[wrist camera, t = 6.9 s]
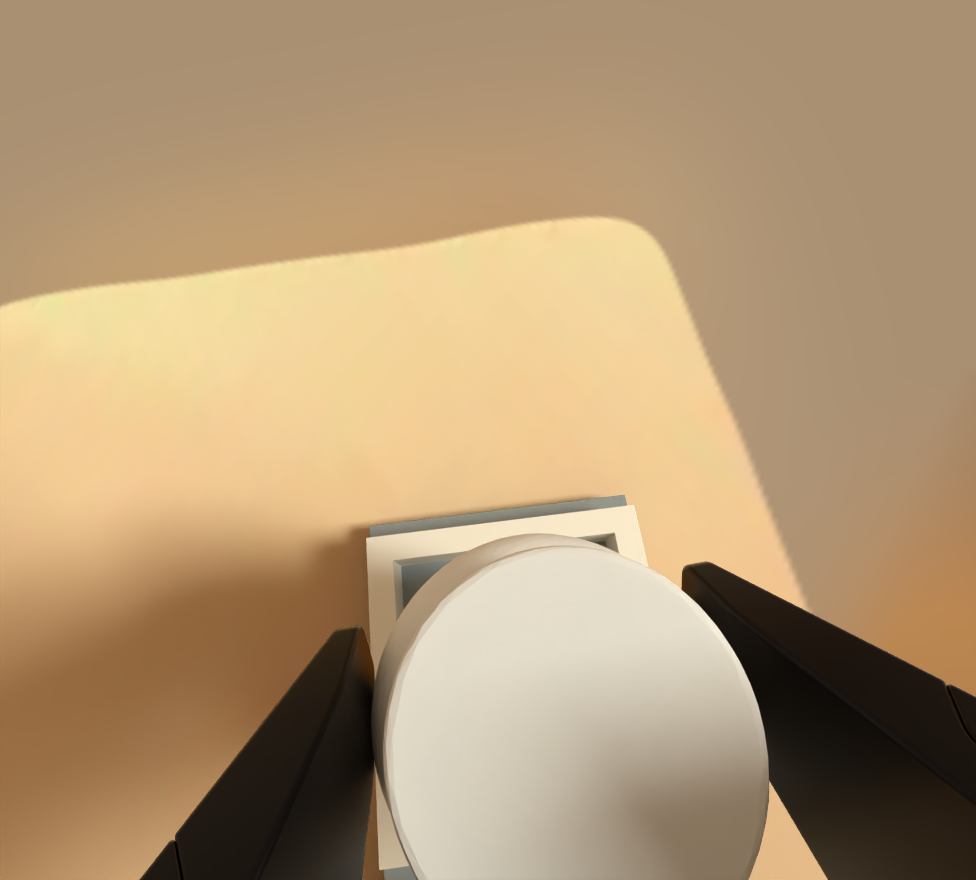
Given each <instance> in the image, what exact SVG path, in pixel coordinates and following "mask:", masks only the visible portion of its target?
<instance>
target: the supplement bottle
mask: <svg viewBox="0 0 976 880" xmlns="http://www.w3.org/2000/svg"><path fill="white" fill-rule="evenodd" d="M371 734H372V747H373V756H374V762H375V767H376V772H377V776H378V779H379V783H380V787H381V790H382V793H383V796H384V799H385V801H386V804H387V807H388V809H389V811H390V814H391V818H392V821H393V825H394V829H395V832H396V835H397V838H398V840H399V843H400V845H401V848H402V850H403V853H404V855H405V858H406V860H407V862H408V864H409V866H410V868H411V870H412V872H413V874H414V876H415V878H416V879H417V880H748V879H749V877H750V874H751V872H752V869H753V866H754V863H755V861H756V858H757V855H758V852H759V849H760V845H761V841H762V837H763V833H764V828H765V824H766V818H767V810H768V803H769V767H768V753H767V746H766V739H765V732H764V728H763V723H762V719H761V715H760V711H759V707H758V704H757V701H756V698H755V695H754V692H753V690H752V687H751V684H750V682H749V680H748V678H747V676H746V674H745V671H744V669H743V667H742V665H741V663H740V661H739V659H738V658H737V656H736V654H735V652H734V651H733V649H732V648H731V646H730V645H729V643H728V642H727V640H726V639H725V637H724V636H723V634H722V633H721V631H720V630H719V629H718V627H717V626H716V625H715V623H714V622H713V621H712V620H711V619H710V617H709V616H708V615H707V614H706V613H705V612H704V611H703V609H702V608H701V607H700V606H699V605H698V604H697V603H696V602H695V601H694V600H693V599H691V598H690V597H689V596H688V595H687V594H686V593H685V592H683V591H682V590H681V589H680V588H679V587H678V586H676V585H675V584H674V583H672V582H671V581H669V580H668V579H667V578H665V577H664V576H662V575H661V574H659V573H657V572H656V571H654V570H652V569H650V568H648V567H646V566H644V565H643V564H641V563H639V562H636V561H634V560H631V559H629V558H626V557H624V556H622V555H620V554H619V553H617V552H615V551H613V550H610V549H608V548H606V547H604V546H601V545H599V544H596V543H593V542H590V541H587V540H583V539H579V538H574V537H569V536H563V535H556V534H544V533H535V534H522V535H514V536H509V537H505V538H500V539H497V540H494V541H491V542H488V543H485V544H483V545H480V546H478V547H476V548H473V549H471V550H469V551H467V552H465V553H463V554H461V555H460V556H458V557H456V558H455V559H453V560H452V561H451V562H449V563H448V564H446V565H445V566H444V567H442V568H441V569H440V570H439V571H438V572H436V573H435V574H434V575H433V576H432V577H431V578H430V579H429V580H428V581H427V582H426V583H425V584H424V585H423V586H422V587H421V588H420V589H419V590H418V592H417V593H416V594H415V595H414V596H413V598H412V599H411V600H410V602H409V603H408V605H407V606H406V607H405V609H404V610H403V612H402V613H401V615H400V616H399V618H398V620H397V622H396V623H395V625H394V627H393V629H392V631H391V633H390V636H389V638H388V640H387V643H386V645H385V648H384V650H383V653H382V655H381V658H380V662H379V666H378V670H377V674H376V679H375V684H374V690H373V700H372V709H371Z"/></svg>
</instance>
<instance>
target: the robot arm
mask: <svg viewBox="0 0 976 880" xmlns="http://www.w3.org/2000/svg"><path fill="white" fill-rule="evenodd" d="M682 591H683V592H685V593H686V594H687V595H688V596H689V597H690V598H691V599H693V600H694V601H695V602H696V603H697V604H698V605H699V606H700V607H701V608H702V609H703V611H704V612H705V613H706V614H707V615H708V616H709V617H710V619H711V620H712V621H713V622H714V623H715V625H716V626H717V627H718V629H719V630H720V631H721V633H722V634H723V636H724V637H725V639H726V640H727V642H728V643H729V645H730V646H731V648H732V649H733V651H734V652H735V654H736V656H737V658H738V659H739V661H740V663H741V665H742V667H743V669H744V671H745V674H746V676H747V678H748V680H749V682H750V684H751V687H752V690H753V692H754V695H755V698H756V701H757V704H758V707H759V711H760V715H761V719H762V723H763V728H764V732H765V739H766V746H767V753H768V767H769V781H770V782H771V784H772V786H773V787H774V789H775V791H776V793H777V794H778V796H779V798H780V799H781V801H782V803H783V804H784V806H785V808H786V809H787V811H788V813H789V815H790V816H791V818H792V820H793V821H794V823H795V825H796V826H797V828H798V830H799V831H800V833H801V835H802V837H803V838H804V840H805V842H806V843H807V845H808V847H809V848H810V850H811V852H812V853H813V855H814V857H815V859H816V860H817V862H818V864H819V865H820V867H821V869H822V870H823V872H824V874H825V875H826V877H827V879H828V880H976V697H975V696H973V695H971V694H969V693H967V692H965V691H963V690H961V689H959V688H957V687H955V686H953V685H947V686H946V684H945V682H944V681H943V680H941V679H939V678H937V677H935V676H933V675H931V674H929V673H927V672H925V671H923V670H921V669H919V668H917V667H915V666H913V665H911V664H910V663H908V662H906V661H904V660H902V659H900V658H898V657H895V656H894V655H892V654H890V653H888V652H886V651H884V650H882V649H880V648H878V647H876V646H874V645H872V644H870V643H868V642H866V641H864V640H862V639H860V638H858V637H856V636H854V635H852V634H850V633H848V632H847V631H845V630H842V629H841V628H839V627H837V626H835V625H833V624H831V623H829V622H827V621H825V620H823V619H821V618H819V617H817V616H815V615H813V614H811V613H809V612H807V611H805V610H803V609H801V608H799V607H797V606H795V605H793V604H791V603H789V602H787V601H786V600H784V599H782V598H780V597H778V596H776V595H774V594H772V593H770V592H768V591H766V590H764V589H762V588H760V587H758V586H756V585H754V584H752V583H750V582H748V581H746V580H744V579H742V578H740V577H738V576H736V575H734V574H732V573H730V572H728V571H726V570H724V569H723V568H721V567H719V566H717V565H715V564H713V563H710V562H700V563H695V564H689V565H686V566H685V567H684V568H683V571H682ZM374 684H375V671H374V664H373V660H372V656H371V653H370V650H369V646H368V643H367V640H366V636H365V633H364V630H363V629H362V627H360V626H358V625H356V626H351V627H345V628H340V629H337V630H335V631H334V632H333V633H332V634H331V636H330V637H329V638H328V639H327V641H326V642H325V643H324V645H323V646H322V647H321V648H320V650H319V651H318V652H317V654H316V655H315V656H314V657H313V659H312V660H311V661H310V663H309V664H308V665H307V666H306V668H305V669H304V670H303V672H302V673H301V674H300V675H299V677H298V678H297V679H296V680H295V682H294V683H293V684H292V686H291V687H290V688H289V689H288V691H287V692H286V693H285V695H284V696H283V697H282V698H281V700H280V701H279V702H278V704H277V705H276V706H275V707H274V709H273V710H272V711H271V713H270V714H269V715H268V716H267V718H266V719H265V720H264V721H263V723H262V724H261V725H260V727H259V728H258V729H257V730H256V732H255V733H254V734H253V736H252V737H251V738H250V739H249V741H248V742H247V743H246V745H245V746H244V747H243V748H242V750H241V751H240V752H239V754H238V755H237V756H236V757H235V759H234V760H233V761H232V762H231V764H230V765H229V766H228V768H227V769H226V770H225V771H224V773H223V774H222V775H221V777H220V778H219V779H218V780H217V782H216V783H215V784H214V786H213V787H212V788H211V789H210V791H209V792H208V793H207V794H206V796H205V797H204V798H203V800H202V801H201V802H200V803H199V805H198V806H197V807H196V809H195V810H194V811H193V812H192V814H191V815H190V816H189V818H188V819H187V820H186V821H185V823H184V824H183V825H182V827H181V828H180V829H179V830H178V832H177V833H176V835H175V841H174V840H172V841H170V842H169V843H168V844H167V845H166V847H165V848H164V849H163V851H162V852H161V853H160V854H159V856H158V857H157V858H156V859H155V861H154V862H153V863H152V865H151V866H150V867H149V868H148V870H147V871H146V872H145V874H144V875H143V876H142V877H141V878H140V880H362V872H363V863H364V855H365V846H366V838H367V829H368V821H369V812H370V804H371V795H372V786H373V774H374V756H373V747H372V734H371V709H372V700H373V690H374Z"/></svg>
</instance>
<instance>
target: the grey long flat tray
mask: <svg viewBox="0 0 976 880" xmlns="http://www.w3.org/2000/svg"><path fill="white" fill-rule="evenodd" d="M535 533H544V534H556V535H563V536H569V537H574V538H579V539H583V540H587V541H590V542H593V543H596V544H599V545H601V546H604V547H606V548H608V549H610V550H613V551H615V552H617V553H619V554H620V555H622V556H624V557H626V558H629V559H631V560H634V561H636V562H639V563H641V564H643V565H644V566H646V567H648V564H647V559H646V555H645V550H644V546H643V542H642V537H641V533H640V528H639V524H638V519H637V515H636V511H635V506H634V505H629V506H627V503H626V499H625V495H619V496H611V497H603V498H595V499H587V500H578V501H570V502H562V503H554V504H546V505H538V506H530V507H521V508H513V509H505V510H497V511H489V512H481V513H473V514H464V515H456V516H448V517H440V518H432V519H424V520H416V521H407V522H399V523H391V524H383V525H375V526H370V538H366V546H367V572H368V597H369V623H370V648H371V656H372V660H373V664H374V671H375V679H376V674H377V670H378V666H379V662H380V658H381V655H382V653H383V650H384V648H385V645H386V643H387V640H388V638H389V636H390V633H391V631H392V629H393V627H394V625H395V623H396V622H397V620H398V618H399V616H400V615H401V613H402V612H403V610H404V609H405V607H406V606H407V605H408V603H409V602H410V600H411V599H412V598H413V596H414V595H415V594H416V593H417V592H418V590H419V589H420V588H421V587H422V586H423V585H424V584H425V583H426V582H427V581H428V580H429V579H430V578H431V577H432V576H433V575H434V574H435V573H436V572H438V571H439V570H440V569H441V568H442V567H444V566H445V565H446V564H448V563H449V562H451V561H452V560H453V559H455V558H456V557H458V556H460V555H461V554H463V553H465V552H467V551H469V550H471V549H473V548H476V547H478V546H480V545H483V544H485V543H488V542H491V541H494V540H497V539H500V538H505V537H509V536H514V535H522V534H535ZM375 776H376V802H377V827H378V853H379V870H384V880H417V879H416V878H415V876H414V874H413V872H412V870H411V868H410V866H409V864H408V862H407V860H406V858H405V855H404V853H403V850H402V848H401V845H400V843H399V840H398V838H397V835H396V832H395V829H394V825H393V821H392V818H391V814H390V811H389V809H388V807H387V804H386V801H385V799H384V796H383V793H382V790H381V787H380V783H379V779H378V776H377V772H376V767H375Z"/></svg>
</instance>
